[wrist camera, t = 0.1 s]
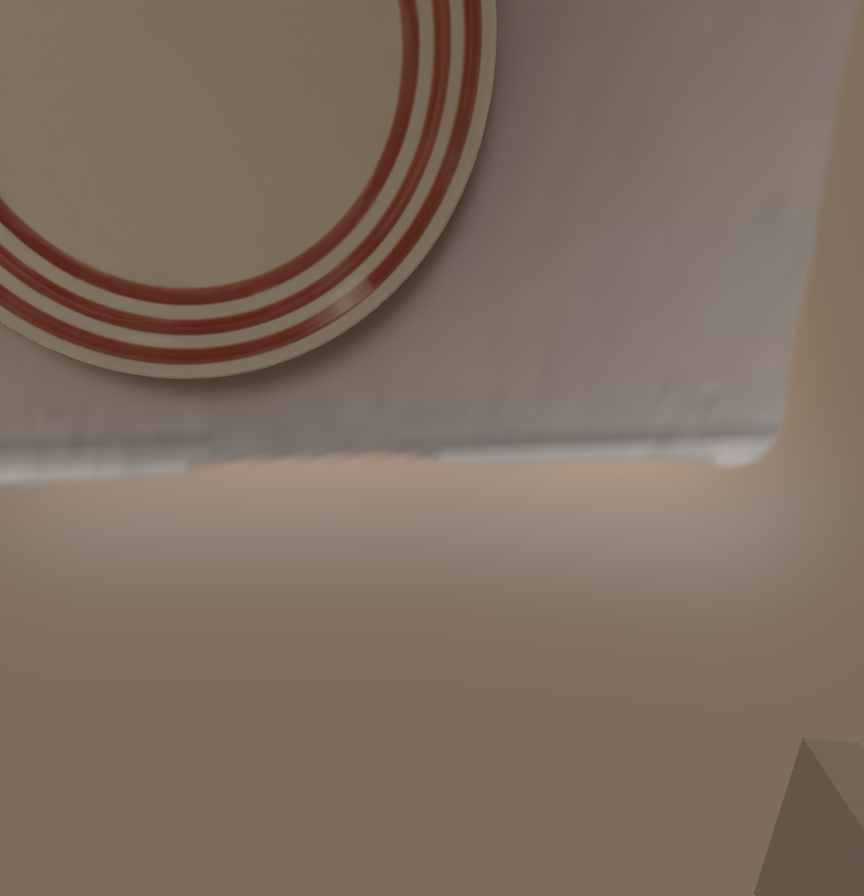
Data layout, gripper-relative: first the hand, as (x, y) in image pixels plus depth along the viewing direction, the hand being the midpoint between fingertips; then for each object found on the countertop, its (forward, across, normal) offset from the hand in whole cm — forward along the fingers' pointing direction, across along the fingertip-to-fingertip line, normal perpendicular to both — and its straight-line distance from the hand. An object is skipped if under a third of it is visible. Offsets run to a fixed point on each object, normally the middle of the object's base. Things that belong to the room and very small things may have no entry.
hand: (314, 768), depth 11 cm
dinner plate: (+28, -11, +12) cm, 33 cm away
